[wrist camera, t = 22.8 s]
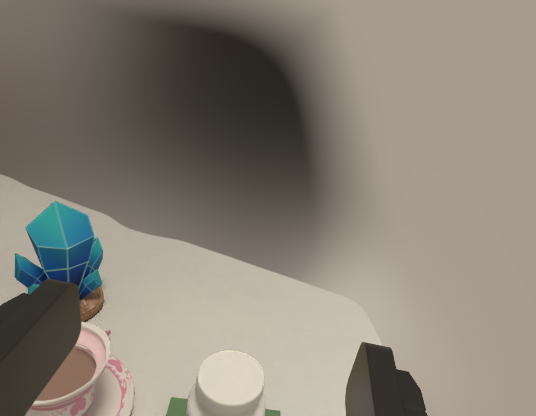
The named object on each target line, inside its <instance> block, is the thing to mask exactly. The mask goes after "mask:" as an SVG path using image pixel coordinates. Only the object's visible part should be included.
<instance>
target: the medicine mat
mask: <svg viewBox="0 0 536 416" xmlns="http://www.w3.org/2000/svg"><path fill="white" fill-rule="evenodd" d="M187 400H188V399H182V398H174V397H172V398H171V400H170V404H169V408H168V411H167V415H166V416H186V406H187ZM265 416H280V411H276V410H268V409H265Z"/></svg>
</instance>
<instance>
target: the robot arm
mask: <svg viewBox="0 0 536 416" xmlns="http://www.w3.org/2000/svg"><path fill="white" fill-rule="evenodd" d="M80 332H81V312H80V299H79V288H78V286H77V284H74V283H70V282H65V281H60V280H55V279H46V280H45V281H43V282H42V283H41V284H40V285H39V286H38V287H37V288H36V289H35V290H34V291H33V292H32V293H31V294H25V293H22V294H21V295H19V296H17V297H15V298H13V299H11V300H9V301H7V302H6V303H4V304H2V305H1V306H0V416H24V415H25V414H26V413H27V411H28V410H29V409H30V407H31V406H32V404H33V403H34V402H35V400H36V399H37V398H38V396H39V395H40V393H41V392H42V391H43V389H44V388H45V387H46V385H47V384H48V382H49V381H50V380H51V378H52V377H53V375H54V374H55V373H56V371H57V370H58V369H59V367H60V366H61V364H62V363H63V362H64V360H65V359H66V358H67V356H68V355H69V353H70V352H71V351H72V349H73V348H74V346H75V345H76V343H77V341H78V338H79V335H80ZM345 405H346V416H427V413H425V410H426V409H425V405H424V401H423V397H422V393H421V390H420V388H419V387H418V385H417V384H416V382H415V381H414V379H413V378H412V376H411V375H410V373H409V372H407V371H402V370H397V369H396V366H395V362H394V356H393V352H392V349H391V348H390V347H385V346H380V345H375V344H370V343H365V342H363V343H362V344H361V345H360V348H359V351H358V353H357V356H356V359H355V362H354V365H353V368H352V370H351V373H350V376H349V379H348V383H347V388H346V397H345Z"/></svg>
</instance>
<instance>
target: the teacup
mask: <svg viewBox="0 0 536 416" xmlns="http://www.w3.org/2000/svg"><path fill="white" fill-rule="evenodd" d="M110 333H111V331H110V330H109V331H107V332H106V331H104V330H103V329H101V328H100V327H98V326H96V325H94V324H91V323H87V322H81V332H80V335H79V338H78V341H77V343H76V345H75V346H74V348H73V349H72V351H71V352H70V353H69V355H68V356H67V358H66V359H65V360H64V362H63V363H62V364H61V366H60V367H59V369H58V370H57V371H56V373H55V374H54V375H53V377H52V378H51V380H50V381H49V382H48V384H47V385H46V387H45V388H44V389H43V391H42V392H41V393H40V395H39V396H38V398H37V399H36V400H35V402H34V403H33V404H32V406H31V407H30V409H29V410H28V411H27V413H26V414H25V415H24V416H130V414H131V412H132V410H133V401H134V385H133V382H132V379H131V376H130V373H129V371H128V370H127V369H126V368H125V367H124V366H123V365H122V363H121V362H120V361H119V360H117V359H115V358H113V357H112V356H110V353H111V343H110V338H109V337H108V335H109V334H110Z"/></svg>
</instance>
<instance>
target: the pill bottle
mask: <svg viewBox="0 0 536 416" xmlns="http://www.w3.org/2000/svg"><path fill="white" fill-rule="evenodd" d="M264 383H265V377H264V372H263V370H262V368H261V366H260V364H259V363H258V362H257V361H256V360H255V359H254V358H253V357H251V356H250V355H248V354H246V353H243V352H240V351H236V350H223V351H219V352H216V353H214V354H212V355H210V356H208V357H207V358H206V359H205V360H204V361H203V362H202V363H201V365H200V367H199V369H198V373H197V379H196V383H195V384H194V385H193V387H192V389H191V391H190V393H189V396H188V400H187V406H186V416H265V409H266V405H265V398H264V395H263V389H264Z"/></svg>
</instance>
